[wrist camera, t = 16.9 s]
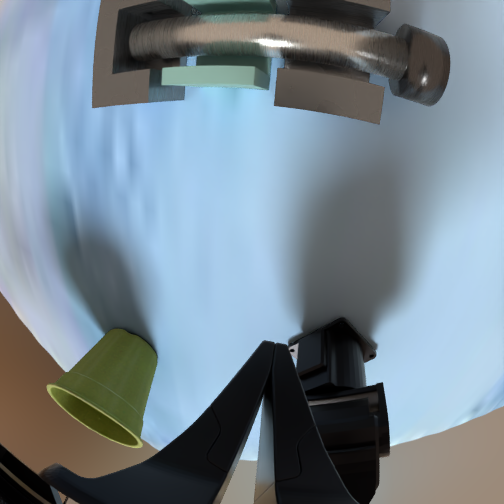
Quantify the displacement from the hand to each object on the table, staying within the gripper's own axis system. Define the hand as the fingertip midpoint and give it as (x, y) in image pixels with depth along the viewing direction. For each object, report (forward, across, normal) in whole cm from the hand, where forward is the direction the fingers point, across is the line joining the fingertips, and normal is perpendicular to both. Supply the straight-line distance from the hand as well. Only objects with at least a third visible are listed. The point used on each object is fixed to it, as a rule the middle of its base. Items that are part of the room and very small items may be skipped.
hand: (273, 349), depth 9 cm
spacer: (+12, +5, -11) cm, 17 cm away
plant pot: (+12, +16, +20) cm, 28 cm away
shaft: (+11, +2, -11) cm, 16 cm away
